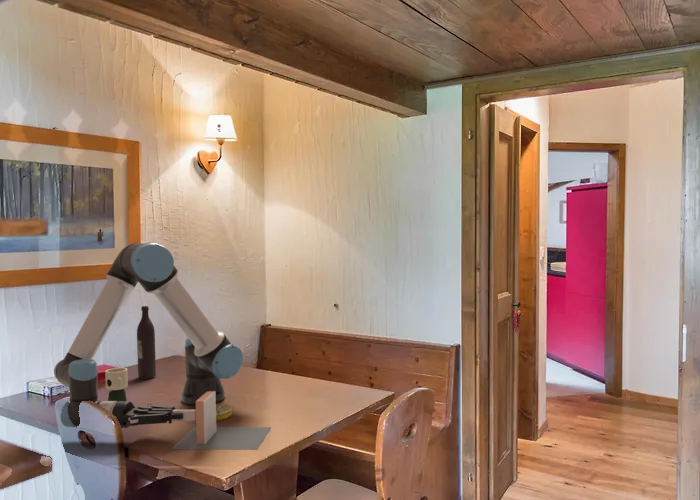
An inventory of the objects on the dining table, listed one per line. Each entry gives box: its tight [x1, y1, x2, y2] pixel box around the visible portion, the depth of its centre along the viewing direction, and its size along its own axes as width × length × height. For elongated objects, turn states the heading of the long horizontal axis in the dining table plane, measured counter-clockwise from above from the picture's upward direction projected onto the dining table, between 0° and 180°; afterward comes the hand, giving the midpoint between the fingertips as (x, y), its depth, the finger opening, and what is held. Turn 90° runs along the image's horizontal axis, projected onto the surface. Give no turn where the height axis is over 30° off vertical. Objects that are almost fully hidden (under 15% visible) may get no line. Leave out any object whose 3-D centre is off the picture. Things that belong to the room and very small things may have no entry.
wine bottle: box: [136, 305, 157, 379], centre depth 241 cm, size 7×7×30 cm
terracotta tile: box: [195, 391, 217, 444], centre depth 166 cm, size 10×2×12 cm, turn 176°
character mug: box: [104, 367, 129, 402], centre depth 199 cm, size 11×7×13 cm, turn 34°
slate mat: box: [171, 426, 272, 451], centre depth 166 cm, size 18×24×1 cm
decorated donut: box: [216, 403, 233, 422], centre depth 185 cm, size 10×11×4 cm
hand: (195, 414), depth 165 cm, fingers closed
